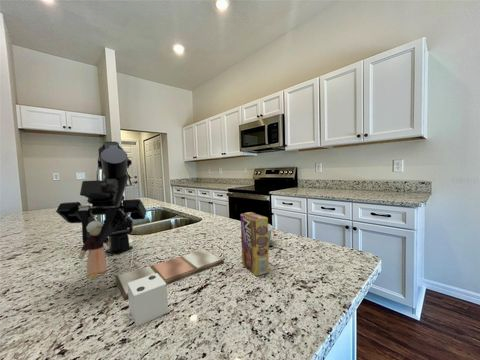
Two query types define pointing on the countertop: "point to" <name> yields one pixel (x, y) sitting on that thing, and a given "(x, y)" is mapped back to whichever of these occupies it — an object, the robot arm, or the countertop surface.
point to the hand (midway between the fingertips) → (92, 243)
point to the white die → (147, 298)
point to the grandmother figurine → (94, 251)
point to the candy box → (255, 243)
